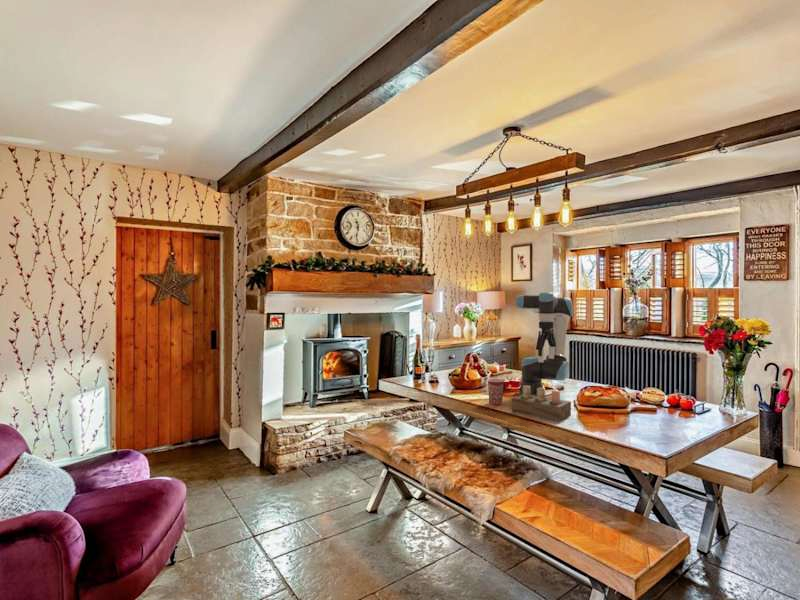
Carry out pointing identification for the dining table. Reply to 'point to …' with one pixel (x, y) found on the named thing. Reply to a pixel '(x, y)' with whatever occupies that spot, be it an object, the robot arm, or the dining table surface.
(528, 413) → the socket board
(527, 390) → the plug
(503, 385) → the mug
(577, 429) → the dining table surface
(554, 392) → the plug
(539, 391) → the plug mid
